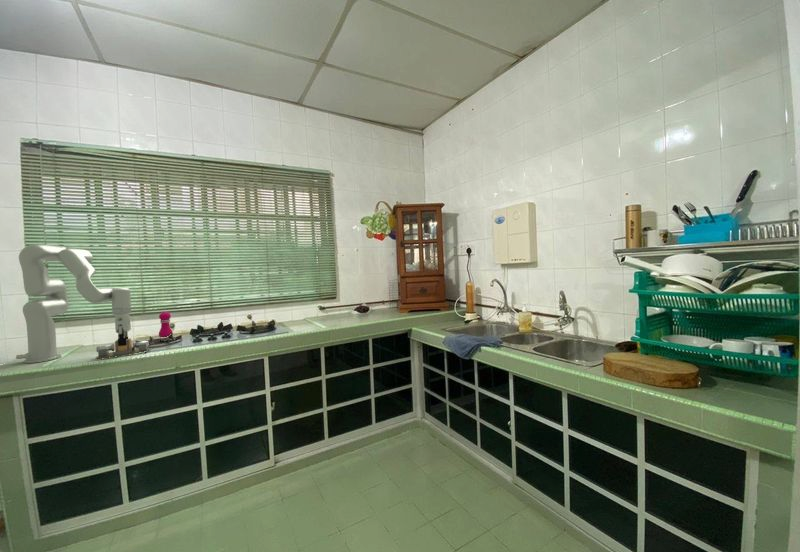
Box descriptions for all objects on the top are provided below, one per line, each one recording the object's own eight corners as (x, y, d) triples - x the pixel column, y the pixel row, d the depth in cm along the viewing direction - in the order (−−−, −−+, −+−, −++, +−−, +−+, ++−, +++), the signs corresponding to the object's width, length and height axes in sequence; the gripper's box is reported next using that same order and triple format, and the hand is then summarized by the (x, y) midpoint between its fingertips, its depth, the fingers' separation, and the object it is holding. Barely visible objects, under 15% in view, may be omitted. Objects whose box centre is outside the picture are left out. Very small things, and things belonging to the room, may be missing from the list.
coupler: (131, 349, 167) (131, 338, 167) (130, 351, 163) (129, 339, 163) (117, 351, 164) (116, 339, 164) (115, 352, 160) (114, 341, 160)
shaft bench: (94, 360, 154) (94, 347, 154) (100, 355, 162) (99, 344, 162) (147, 353, 165) (147, 341, 165) (150, 349, 174) (149, 338, 174)
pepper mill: (168, 341, 192) (166, 310, 192) (156, 342, 192) (154, 310, 191) (175, 339, 199) (174, 308, 199) (164, 339, 199) (162, 309, 198)
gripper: (127, 311, 158) (129, 346, 159) (133, 308, 172) (135, 340, 173) (108, 313, 154) (110, 349, 155) (115, 310, 168) (117, 342, 169)
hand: (123, 344), depth 164 cm, fingers closed on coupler, 4 cm apart
